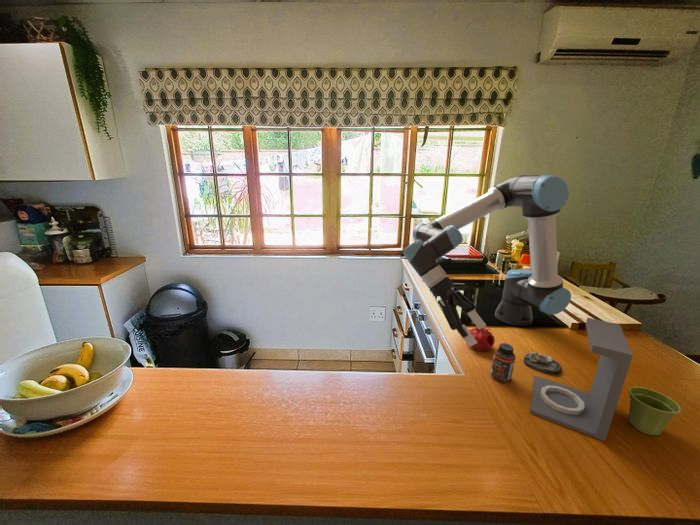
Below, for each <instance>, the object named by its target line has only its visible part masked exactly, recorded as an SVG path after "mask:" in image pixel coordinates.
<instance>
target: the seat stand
mask: <svg viewBox="0 0 700 525" xmlns="http://www.w3.org/2000/svg"><path fill="white" fill-rule="evenodd" d="M585 327H586V328H585V329H586V334H587V339H588V345H589V349H590V353H591V354H595V355H597V356H600V357H599V360H598V363H597V367H596V370H595V373H594V377H593V381H592V384H591V387H590V391H589V392H587V391H584V390H581V389H578V388H574V387H572V386H569V385H566V384H563V383H559V382H556V381H554V380H550V379H547V378H544V377H542V376H538V375H534V377H533V385H532V392H531V393H532V394H531V400H530V408H529V413H530V414H533V415H534V416H537V417H540V418H543V419H545V420H549V421H551V422H553V423H556V424H557V425H558V424H559V425H560V426H563V427H565V428H569V429H571V430H573V431H574V430H575V431H577V432H579V433H582V434H584V435H587V436H590V437H592V438H595V439H598V440H600V441H603V442H606V440H607V437H608V434H609V430H610V427H611V425H612V421H613V418H614V415H615V412H616V408H617V405H618V403H619V399H620V397H621V394H622V390H623V387H624V384H625V381H626V378H627V375H628V372H629V369H630V365H631V362H632V359H633V352H632V350H631V347H630V345H629V343H628V341H627V338H626V336H625V333H624V332H623V329H622V327H621V324H619V323H614V322H610V321H606V320H602V319H596V318H592V317H587V318H586V322H585Z"/></svg>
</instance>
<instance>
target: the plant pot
mask: <svg viewBox="0 0 700 525" xmlns="http://www.w3.org/2000/svg"><path fill="white" fill-rule="evenodd" d="M628 394H629V398H630V401H629V402H630V404H629V412H628V423H629V424H631V425H632V426H633V427H634V429H635V430H637V431H638V432H641V433H643V434H646V435H648V436H658V437H659V436H660V435H661V434H662V432H663V431H664V430H665V428H666V426H667V425H668V424H669V423H670V421H671V420H672V418H673V417H675V416H676V415H677V414H679V413H680V412H681V411H682V409H681V406H680V405H679V404H678V403H677V402H676V401H675V400H674V399H672V398H671V397H669V396H667V395H666V394H663V393H662V392H659V391H656V390H654V389H650V388H648V387H643V386H632V387H629V389H628Z"/></svg>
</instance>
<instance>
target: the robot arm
mask: <svg viewBox="0 0 700 525" xmlns="http://www.w3.org/2000/svg"><path fill="white" fill-rule="evenodd" d="M569 192H570V191H569V186H568V184H567V182H566V181H565V179H563V178H562V177H560V176H558V175H552V174H532V175H531V174H529V175H527V174H522V175H521V174H520V175H515V176H513V177H511V178H508V179H506V180H504V181H501V182H499V183H497V184H495V185H494V186H491V187H490V188H488V190H487V192H485V193H484V194H482V195H480V196H478V197H476V198H474V199H472V200H470V201H469V202H467V203H465V204H463V205H461V206H459V207H457V208H455V209H453V210H451V211H450V212H447V213H446V214H444V215H442V216H440V217H438V218H436V219H434V220H432V221H430V222H429V223H419V224H417V225H416V226H415V227H414V228H413V231H412V238H413V239H414V240H415V241H413V242H411V243H410V244H408V245H407V246H406V247H405V248H404V250H403V255H404V257H405V258H406V260H407V262H408V263H409V265H411V267H412V268H413V270H414V271H415V272H416V273H417V275H418V276H419V278H421V281H422V283H424V284H425V286H426V287H428V288H429V291H430V292H431V294H432V295H433V297H435V298H437V297H439V298H440V299H439V300H438V301H437V304H438V305H439V307H440V308H441V311H442V313H443V315H444V318H445V319H446V321H447V324H448V325H449V326H448V327H450V330H452V331H457V333H458V334H459V335H460V336H461V338H462V340H464V342H465V343H466V345H468V347H469V348H471V347H470V346H472V345H475V344H477V341H476V340H475V338H474V337H473V336H472V334H471V333H470V332H469V330H470V329H468V328H467V327H466V325H465V324H463V323H462V320H461V318H460V315H459V312H458V310H457V307H459V308H461V309H463V310H464V311H465V312H467V313H466V314H467V315H468V317H469V318H470V320H471V321H472V322H473V323H474V326H475V327H478V329H481V328H486V327H487V324H486V322H484V320H483V319H482V317H481V316H479V313H478V312H477V311H476V308H477V307H476V305H475V304H474V302H472V300H470V299H469V298H468V297H467V296H465V295H464V294H463V293H462V292H461V291H460V290H459V289H458V288H457V287H456V286H454V285H455V284H454V282H453V280H451V278H450V277H449V276H446V275H447V273H446V271H445V270H444V269H443V268H442V266H441V264H439V262H438V260H440V259H441V258H443V257H444V256H446V255H447V254H448V253H450V252H451V251H453V250H455V249H456V248H457V247H458V246H460V244H462V243H463V241H464V240H463V235H462V233H461V231H460V229H462V228H463V227H466V226H469V225H470V224H472V223H474V222H475V221H477V220H479V219H481V218H482V217H486V216H487V215H489V214H491V213H493V212H494V211H502V210H504V209H507V208H510V207H519V208H521V212H522V218H525V219H526V220H527V228H528V229H527V230H528V245H529V257H530V258H529V260H530V270H529V269H523V268H522V269H519V268H518V269H517V268H516V269H514V268H513V269H509V270H508V271H507V272H506V275H505V278H504V283H503V288H502V289H503V290H502V298H501V301H500V302H499V304H498V305H497V308H496V309H495V312H494V317H495V318H496V319H497V320H499V321H501V322H503V323H505V324H508V325H512V326H516V327H517V326H518V327H528V326H531V325H532V324H533V321H534V317H533V311H532V308H534V309H536V310H538V311H540V312H541V313H545V314H546V315H549V316H550V315H552V316H553V315H559V314H560V313H562V312H563V311H565V309H566V308H567V307H568V306H569V304H570V303H571V299H572V293H571V292H570V290H569V289H568V288H565V287H564V282H563V281H564V280H563V277H561V276H560V275H559V272H558V248H557V246H558V245H557V222H556V218H557V215H559V214H560V213H561V209H562V208H564V207H565V205H566V203H567V202H566V201H568V200H569V195H570V193H569Z"/></svg>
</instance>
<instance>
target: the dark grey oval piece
mask: <svg viewBox="0 0 700 525" xmlns="http://www.w3.org/2000/svg"><path fill="white" fill-rule="evenodd" d="M523 363H524V365H525V367H528V368H530V369H533V370H535V371H538V372H541V373H545V374H548V375H559V374H561V372H562V371H563V370H562V368H561V365H560V363H559V362H558V361H557V360H554V359H553V357H552V356H550V355H548V354H542V353H539V352H537V351H535V352H533V351H532V352H526V353H525V354H524V358H523Z"/></svg>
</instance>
